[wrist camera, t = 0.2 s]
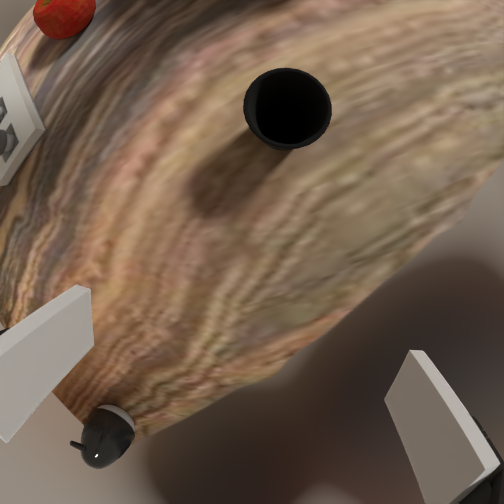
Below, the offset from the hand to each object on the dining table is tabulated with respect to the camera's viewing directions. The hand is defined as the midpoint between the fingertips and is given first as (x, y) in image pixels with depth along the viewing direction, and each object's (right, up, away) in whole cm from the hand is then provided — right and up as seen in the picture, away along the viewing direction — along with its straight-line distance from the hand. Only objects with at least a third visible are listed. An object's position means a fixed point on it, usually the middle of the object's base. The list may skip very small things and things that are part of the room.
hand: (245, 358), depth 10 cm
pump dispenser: (-27, -30, +38) cm, 56 cm away
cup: (+4, +19, +24) cm, 31 cm away
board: (-46, +30, +24) cm, 60 cm away
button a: (-41, +23, +23) cm, 53 cm away
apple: (-30, +44, +20) cm, 57 cm away
